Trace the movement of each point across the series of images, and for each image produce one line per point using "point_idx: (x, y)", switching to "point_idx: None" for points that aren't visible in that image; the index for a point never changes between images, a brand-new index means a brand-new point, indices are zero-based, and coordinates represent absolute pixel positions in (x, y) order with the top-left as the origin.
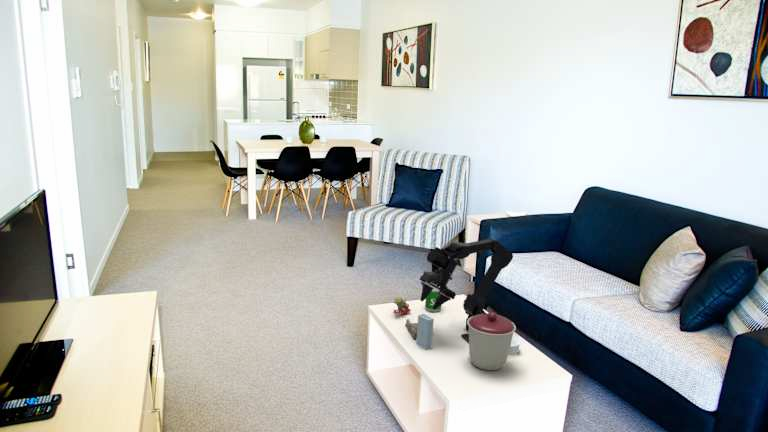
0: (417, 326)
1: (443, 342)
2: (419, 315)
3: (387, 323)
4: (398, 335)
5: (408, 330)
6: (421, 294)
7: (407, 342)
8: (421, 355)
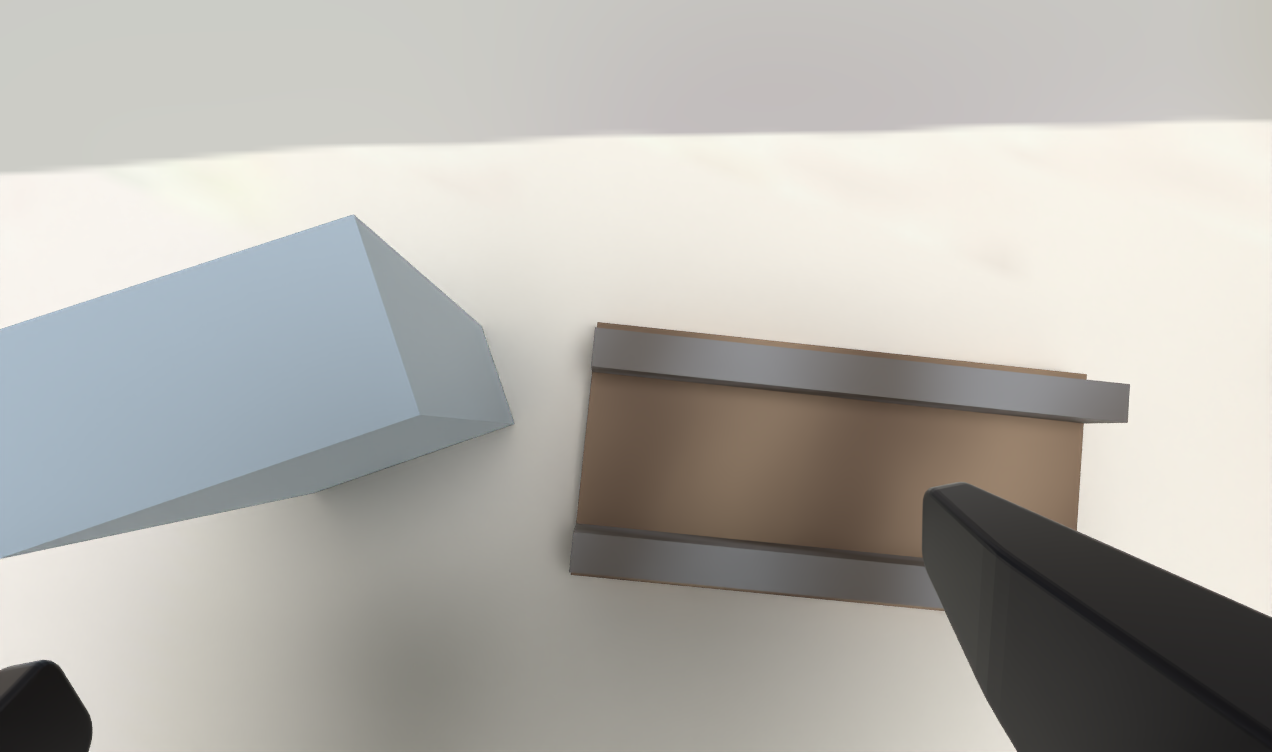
0: (424, 277)
1: (431, 733)
2: (325, 242)
3: (1183, 150)
4: (780, 173)
5: (883, 355)
6: (1181, 577)
7: (547, 220)
8: (137, 269)
